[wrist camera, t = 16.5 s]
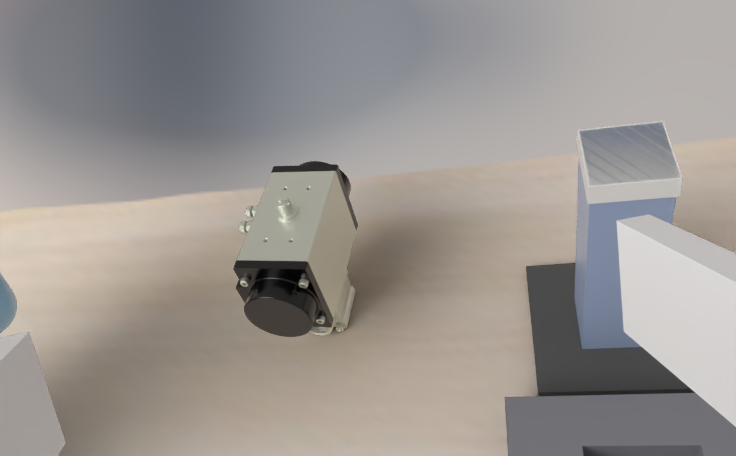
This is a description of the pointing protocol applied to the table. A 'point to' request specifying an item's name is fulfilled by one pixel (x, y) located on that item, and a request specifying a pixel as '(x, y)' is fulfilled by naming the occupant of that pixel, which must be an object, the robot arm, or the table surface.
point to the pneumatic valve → (299, 252)
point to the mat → (584, 366)
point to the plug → (616, 216)
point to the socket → (617, 426)
